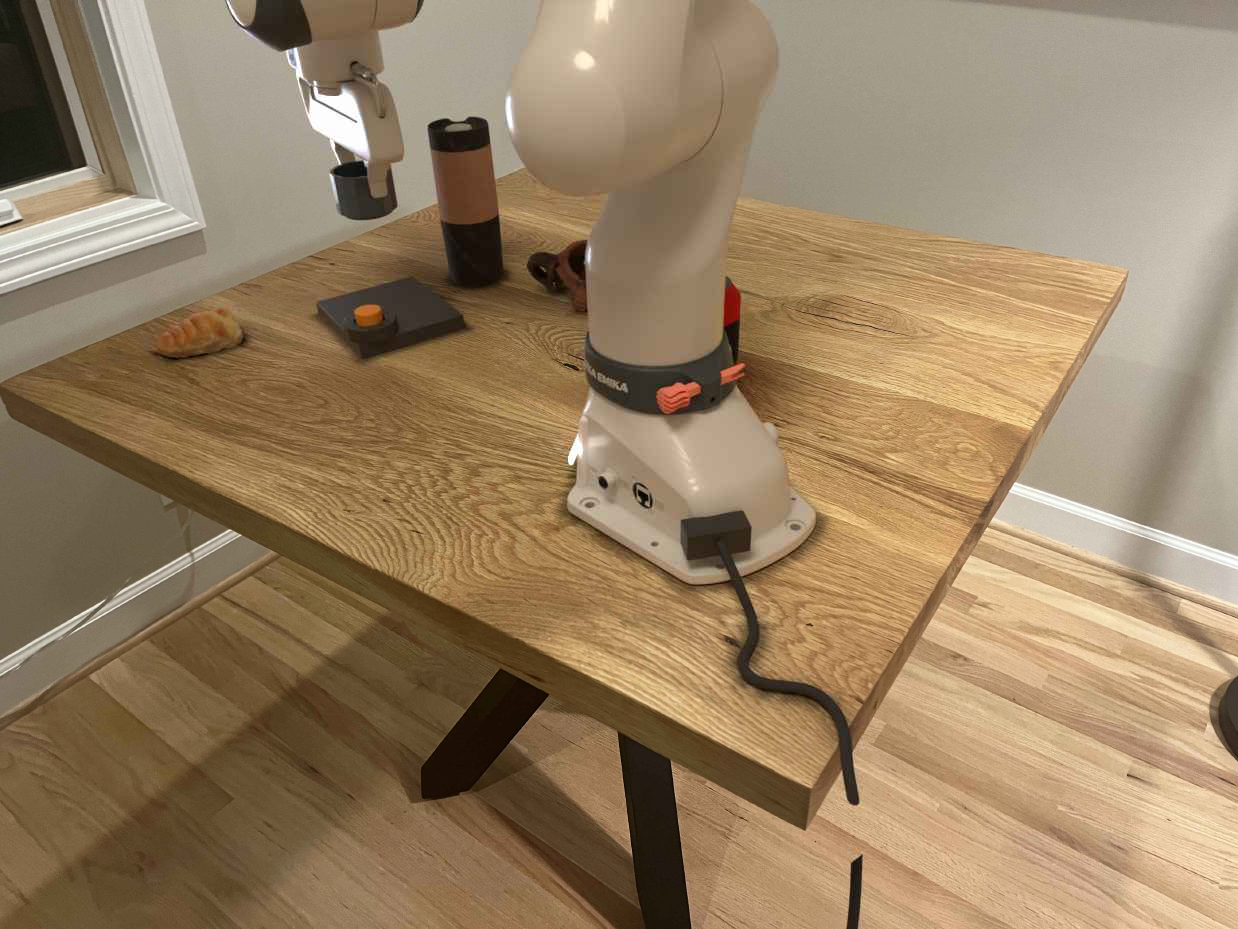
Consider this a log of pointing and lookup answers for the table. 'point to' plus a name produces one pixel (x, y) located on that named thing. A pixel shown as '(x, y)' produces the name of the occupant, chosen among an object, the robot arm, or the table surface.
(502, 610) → the table surface
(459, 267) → the travel mug
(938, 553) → the table surface
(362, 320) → the button
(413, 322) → the scale
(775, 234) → the table surface
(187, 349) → the pastry
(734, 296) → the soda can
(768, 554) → the robot arm
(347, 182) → the bowl
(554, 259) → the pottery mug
